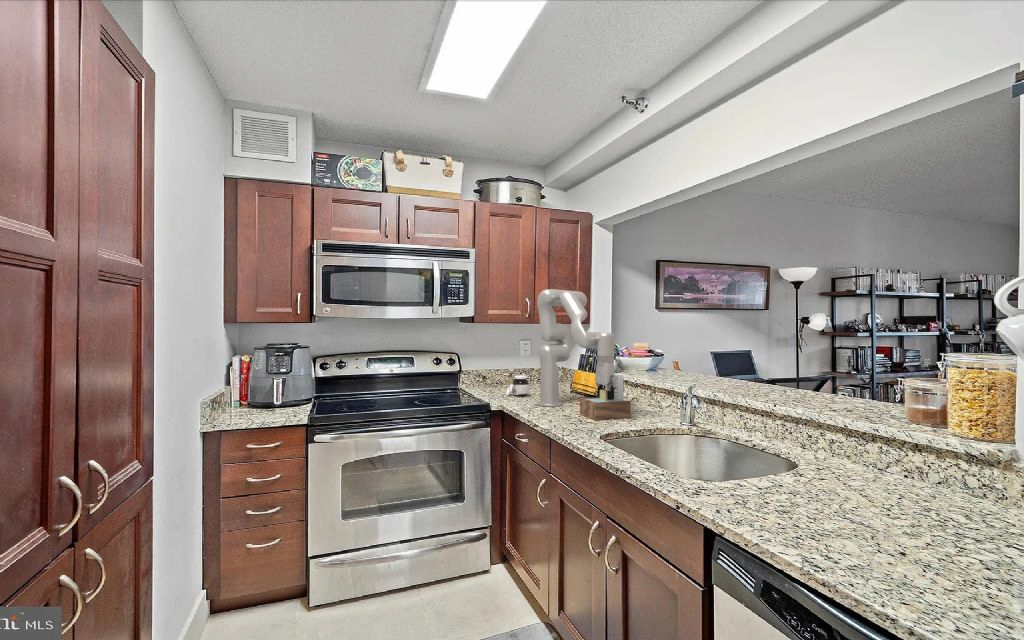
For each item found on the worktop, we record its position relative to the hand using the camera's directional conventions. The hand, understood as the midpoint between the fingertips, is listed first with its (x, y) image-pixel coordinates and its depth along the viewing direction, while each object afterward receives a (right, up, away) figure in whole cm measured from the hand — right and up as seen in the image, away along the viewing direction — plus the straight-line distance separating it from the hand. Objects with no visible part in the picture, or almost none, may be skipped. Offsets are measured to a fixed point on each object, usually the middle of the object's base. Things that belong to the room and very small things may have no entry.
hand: (605, 397), depth 218 cm
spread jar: (-40, -9, +60) cm, 72 cm away
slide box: (0, -8, 0) cm, 8 cm away
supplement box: (+10, -9, +27) cm, 30 cm away
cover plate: (0, -2, 0) cm, 2 cm away
